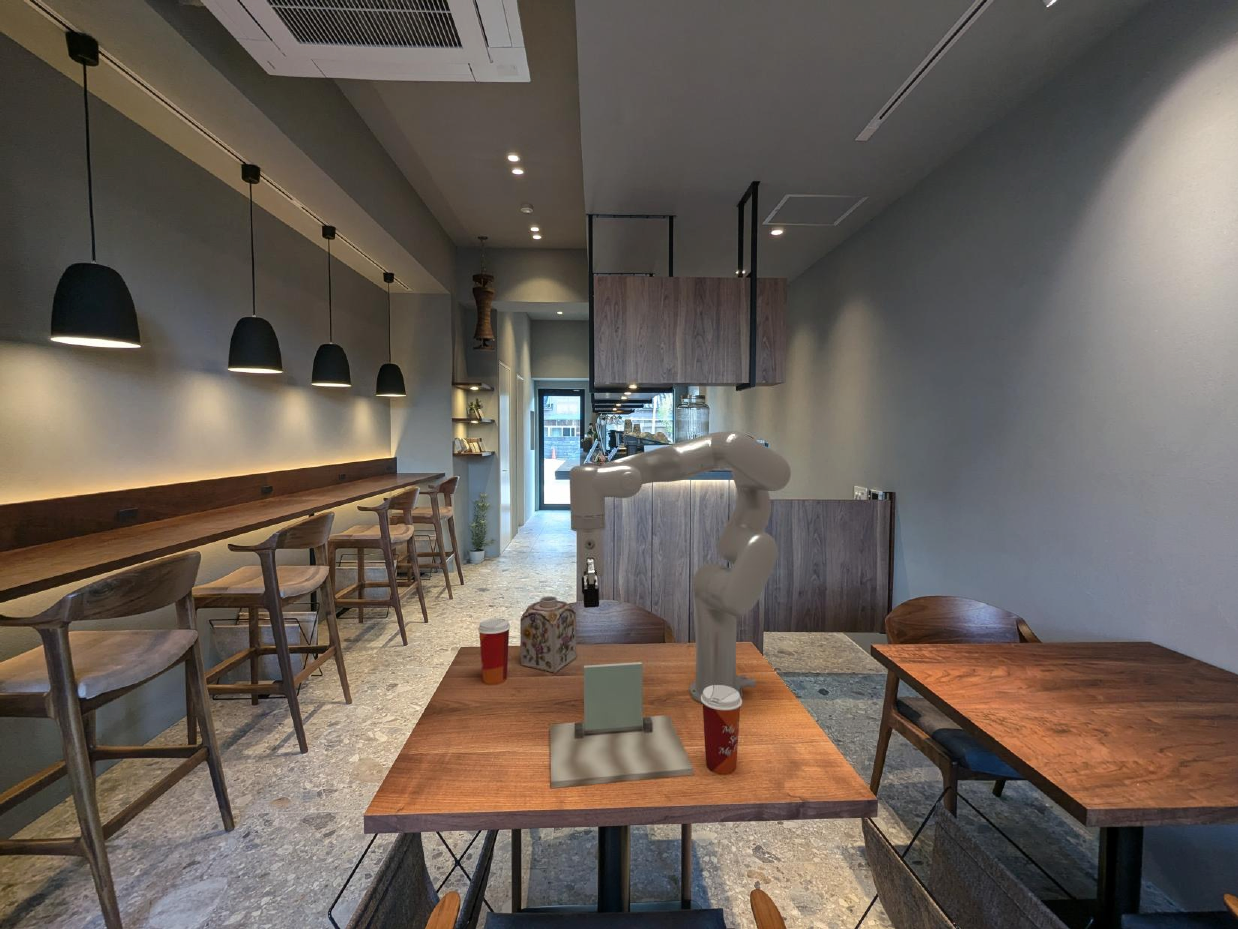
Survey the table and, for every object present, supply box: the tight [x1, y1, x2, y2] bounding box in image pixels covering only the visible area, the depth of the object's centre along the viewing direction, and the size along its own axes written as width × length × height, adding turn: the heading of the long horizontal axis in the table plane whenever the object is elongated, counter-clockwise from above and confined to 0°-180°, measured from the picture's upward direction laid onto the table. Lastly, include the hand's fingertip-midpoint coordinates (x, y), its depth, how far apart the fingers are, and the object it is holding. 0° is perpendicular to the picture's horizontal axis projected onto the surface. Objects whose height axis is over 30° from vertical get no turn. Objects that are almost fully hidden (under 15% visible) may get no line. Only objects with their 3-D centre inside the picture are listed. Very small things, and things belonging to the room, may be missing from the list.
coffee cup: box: [477, 617, 512, 686], centre depth 134 cm, size 8×8×15 cm
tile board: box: [549, 714, 694, 789], centre depth 103 cm, size 26×19×3 cm
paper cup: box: [701, 685, 743, 775], centre depth 98 cm, size 8×8×14 cm
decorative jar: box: [519, 595, 578, 674], centre depth 145 cm, size 12×12×18 cm
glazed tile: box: [583, 661, 643, 734], centre depth 108 cm, size 12×1×14 cm, turn 98°
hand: (590, 600), depth 114 cm, fingers open, 9 cm apart
